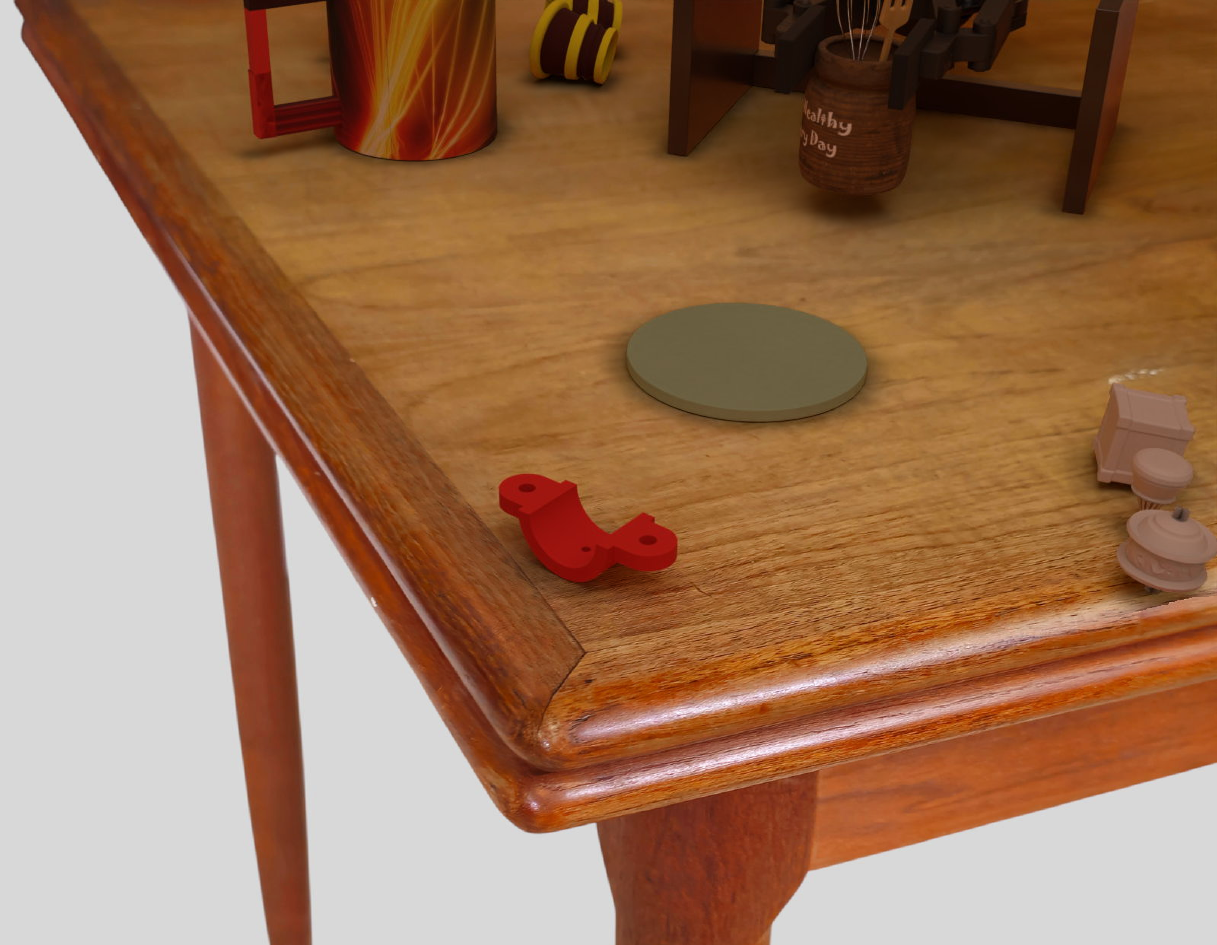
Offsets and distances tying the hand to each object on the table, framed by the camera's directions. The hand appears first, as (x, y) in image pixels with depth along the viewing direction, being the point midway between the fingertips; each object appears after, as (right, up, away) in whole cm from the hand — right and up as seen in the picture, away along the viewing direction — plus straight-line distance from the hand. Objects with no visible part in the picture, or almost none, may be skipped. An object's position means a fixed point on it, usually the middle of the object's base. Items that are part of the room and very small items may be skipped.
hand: (840, 74), depth 90 cm
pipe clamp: (-12, -23, -22) cm, 34 cm away
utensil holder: (+2, -3, +8) cm, 9 cm away
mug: (-24, +1, +17) cm, 29 cm away
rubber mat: (-5, -15, -6) cm, 17 cm away
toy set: (+10, -20, -20) cm, 30 cm away
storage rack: (+6, +2, +19) cm, 20 cm away
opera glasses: (-14, +9, +29) cm, 33 cm away
